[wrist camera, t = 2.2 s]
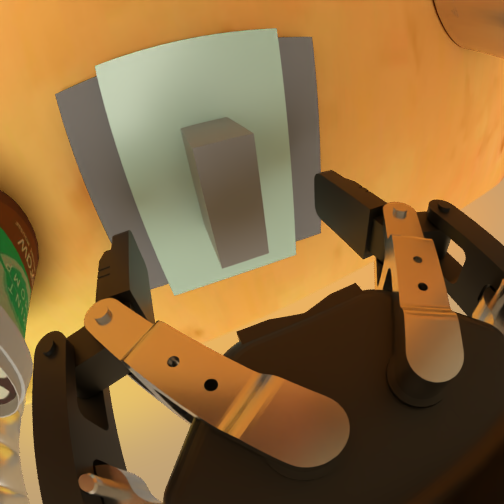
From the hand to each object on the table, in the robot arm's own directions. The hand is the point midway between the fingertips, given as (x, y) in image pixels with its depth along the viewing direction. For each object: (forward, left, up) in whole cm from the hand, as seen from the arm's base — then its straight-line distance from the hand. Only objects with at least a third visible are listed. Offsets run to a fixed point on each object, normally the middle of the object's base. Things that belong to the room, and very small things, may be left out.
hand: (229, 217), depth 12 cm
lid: (0, 0, -5) cm, 5 cm away
